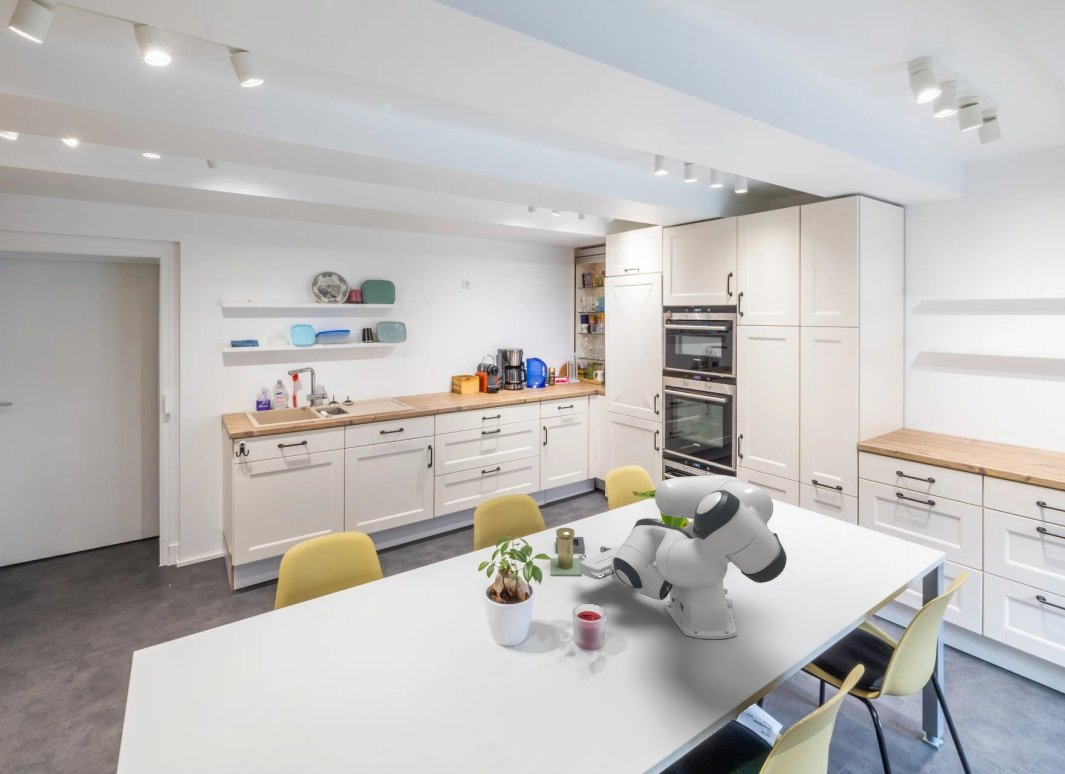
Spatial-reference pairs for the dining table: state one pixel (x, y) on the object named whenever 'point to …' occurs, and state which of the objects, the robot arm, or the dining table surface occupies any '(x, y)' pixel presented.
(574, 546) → the housing
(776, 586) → the dining table surface
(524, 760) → the dining table surface
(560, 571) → the mat
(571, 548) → the olive metal cylinder
